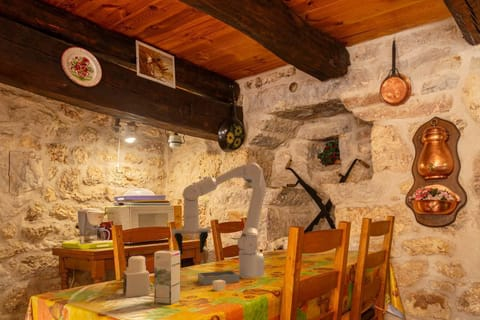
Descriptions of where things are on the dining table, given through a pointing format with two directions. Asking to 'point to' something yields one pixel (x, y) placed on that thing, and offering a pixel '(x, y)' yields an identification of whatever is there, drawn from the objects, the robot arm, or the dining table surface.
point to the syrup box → (166, 277)
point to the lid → (219, 285)
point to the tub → (218, 277)
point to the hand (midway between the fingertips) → (191, 253)
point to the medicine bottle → (136, 277)
